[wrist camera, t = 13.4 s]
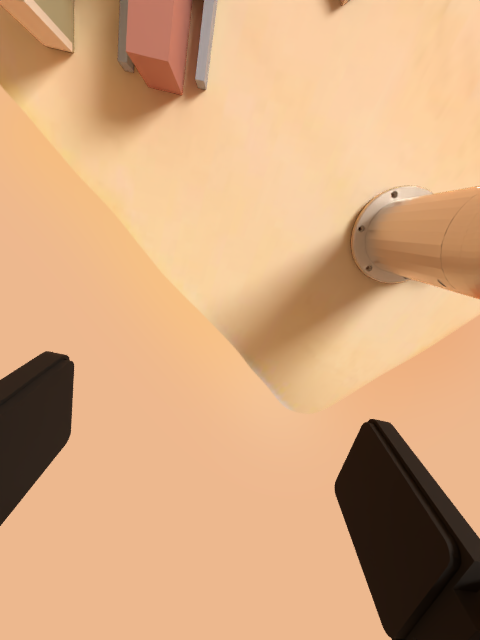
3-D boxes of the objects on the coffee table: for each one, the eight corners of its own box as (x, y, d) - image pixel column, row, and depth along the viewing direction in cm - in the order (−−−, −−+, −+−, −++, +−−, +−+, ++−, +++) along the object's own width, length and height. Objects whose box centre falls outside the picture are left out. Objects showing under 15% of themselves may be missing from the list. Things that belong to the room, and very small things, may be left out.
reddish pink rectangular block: (194, -15, 29) (181, -86, 23) (182, 95, 32) (168, 61, 26) (156, -26, 29) (132, -100, 22) (148, 87, 32) (125, 51, 26)
